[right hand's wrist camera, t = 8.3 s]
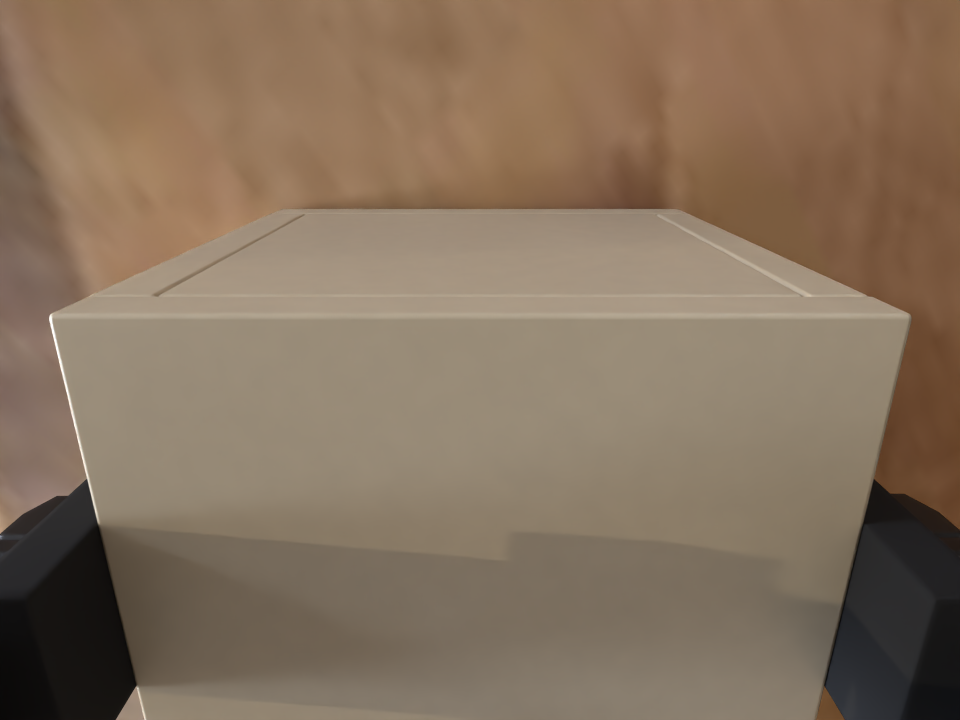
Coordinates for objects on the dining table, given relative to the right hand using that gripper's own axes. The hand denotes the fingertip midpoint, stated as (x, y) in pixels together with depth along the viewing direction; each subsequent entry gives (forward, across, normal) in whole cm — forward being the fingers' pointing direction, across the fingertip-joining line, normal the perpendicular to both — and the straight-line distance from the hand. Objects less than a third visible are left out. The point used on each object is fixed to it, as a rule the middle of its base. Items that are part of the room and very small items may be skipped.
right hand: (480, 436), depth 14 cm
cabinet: (+4, 0, -6) cm, 8 cm away
